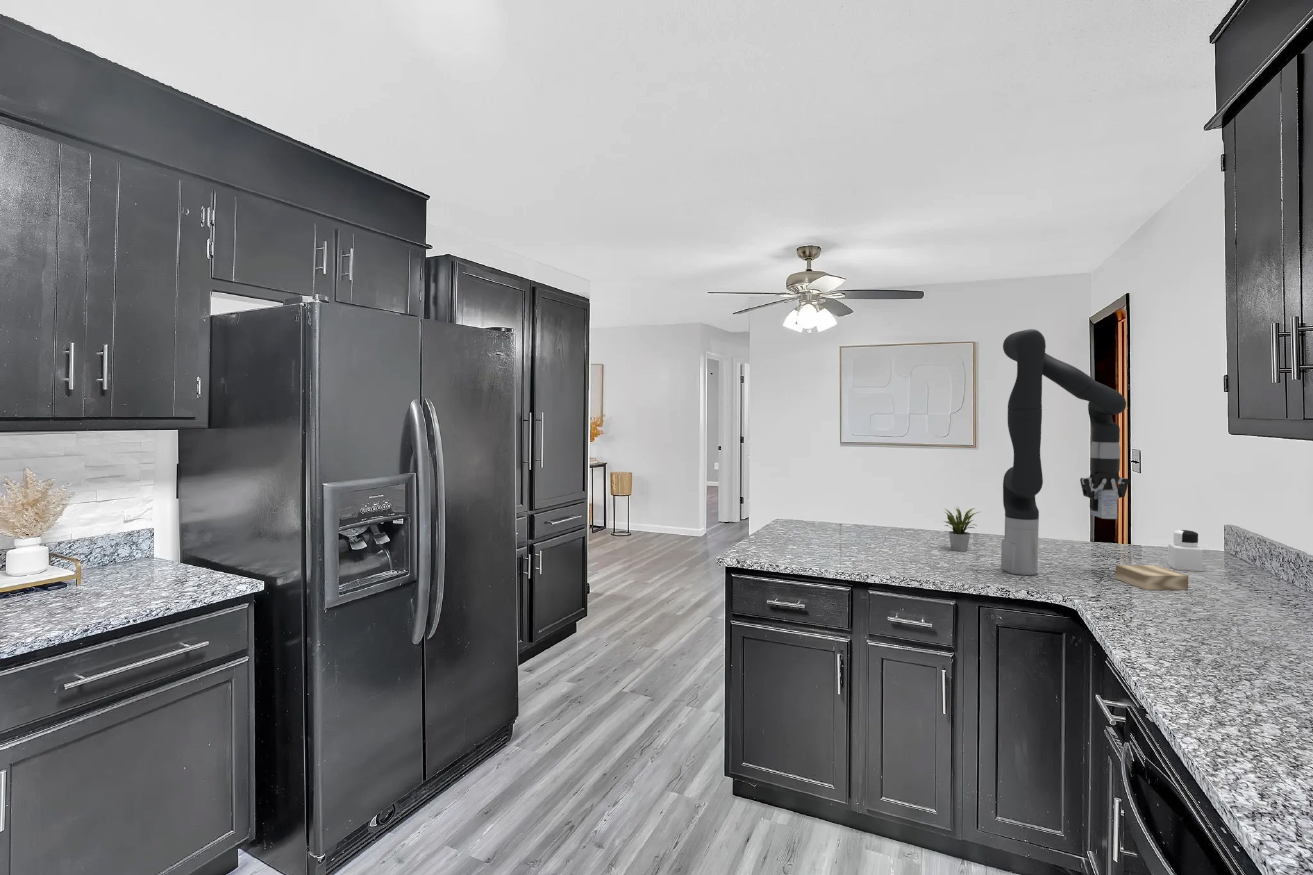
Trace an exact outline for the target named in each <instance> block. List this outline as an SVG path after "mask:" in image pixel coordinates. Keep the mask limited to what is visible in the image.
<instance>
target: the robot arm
mask: <svg viewBox="0 0 1313 875" xmlns="http://www.w3.org/2000/svg"><path fill="white" fill-rule="evenodd" d="M1046 346H1047V345H1046V339H1045V336H1044V335H1043V334H1042V332H1040V331H1039V330H1037V329H1033V328H1030V329H1024V330H1020V331H1015V332H1012V333H1011V334H1008V335H1007V336H1006V338H1004V340H1003V343H1002V349H1003V353H1004V354H1005V356H1006V357H1007V358H1009V359H1011V360H1013V361H1014V362H1016V363H1017V364H1016V365H1017V366H1016V368H1017V369H1016V379H1015V381H1014V385H1013V387H1012V390H1011V392H1010V395H1009V398H1008V402H1007V428H1008V433H1009V436H1010V440H1011V444H1012V448H1013V463H1012V467H1009V468H1008V469H1007V470H1006V471H1005V473H1004V476H1003V480H1002V499H1003V500H1002V504H1003V509H1004V539H1001V548H1000V549H1001V552H1000V553H1001V556H1000V559H1001V560H1000V562H1001V563H1000V565H1001V566H1000V570H1003V571H1005V572H1007V573H1009V574H1011V575H1012V574H1013V575H1022V576H1033V575H1037V574H1038V571H1039V570H1038V567H1039V566H1038V565H1039V531H1040V530H1039V528H1040V525H1039V524H1040V523H1039V521H1040V520H1039V519H1040V511H1039V508H1038V505H1037V503H1036V502H1037V501H1036V495H1038V494H1039V493H1040V492H1041V490H1042V488H1043V485H1044V481H1043V480H1044V477H1043V469H1042V460H1041V442H1042V441H1041V440H1042V421H1043V420H1042V419H1043V415H1042V414H1043V406H1042V405H1043V404H1042V402H1043V399H1042V398H1043V397H1042V396H1043V377H1046V378H1047V379H1049V380H1050V381H1052V382H1053V383H1054V384H1057V385H1058V386H1059V387H1061V388H1062V389H1064V390H1065V391H1066V392H1068V393H1069V394H1071V396H1074V397H1075V398H1076V399H1079V400H1081V401H1082V400H1083V401H1087V402H1088V403H1087V410H1088V411H1087V412H1088V415H1089V421H1090V424H1091V427H1092V428H1091V429H1092V435H1091V441H1092V442H1091V447H1090V461H1089V462H1090V468H1089V470H1090V474H1089V476H1088V477H1080V480H1079V481H1080V486H1081V492H1082V495H1083V497H1086V498H1088V499H1089V510H1090V509H1091V510H1092V511H1098V500H1097V499H1098V495H1099V491H1101V490H1102V489H1111V490H1114V491H1117V493H1118V495H1117V505H1118V500H1119V499H1121V498H1125V497H1126V492H1127V490H1128V486H1129V483H1130V480H1129V478H1127V477H1120V474H1119V472H1120V470H1121V469H1120V468H1121V467H1120V466H1121V446H1120V443H1121V442H1120V439H1121V437H1120V436H1121V434H1120V433H1121V428H1120V426H1119V424H1117V423H1115V422H1114V420H1113V416H1116V415H1119V414H1121V413H1123V412H1124V411H1125V410H1126V407H1127V400H1126V398H1125V397H1124V395H1122V393H1120V392H1119V391H1118V390H1116V389H1114V388H1112V387H1109V386H1108V385H1105V384H1103V383H1101V382H1098V381H1096V380H1095V379H1094V378H1093V377H1092V376H1090V375H1089V374H1087V373H1085V372H1084V371H1082V370H1081V369H1079V368H1077V367H1076V366H1073V365H1071V364H1069V363H1067V362H1064V361H1062V360H1060V359H1058V358H1055V357H1053V356H1052V355H1049V354H1048V353H1046ZM1117 483H1118V484H1117ZM1096 488H1097V489H1096Z"/></svg>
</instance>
